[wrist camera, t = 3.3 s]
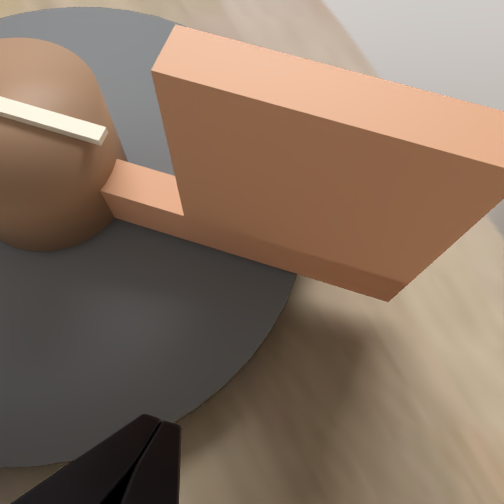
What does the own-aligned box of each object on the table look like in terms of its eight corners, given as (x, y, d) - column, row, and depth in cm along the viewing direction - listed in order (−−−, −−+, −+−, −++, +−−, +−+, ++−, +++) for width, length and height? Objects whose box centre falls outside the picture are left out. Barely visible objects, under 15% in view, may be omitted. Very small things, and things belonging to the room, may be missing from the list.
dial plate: (-222, 113, 24) (-251, 92, 23) (188, -17, 29) (185, -41, 28) (-145, 593, 16) (-183, 608, 15) (398, 304, 21) (410, 294, 20)
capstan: (-56, 224, 20) (-310, 38, 11) (22, 105, 22) (-126, -128, 13) (375, 363, 18) (520, 285, 9) (405, 216, 21) (541, 39, 12)
